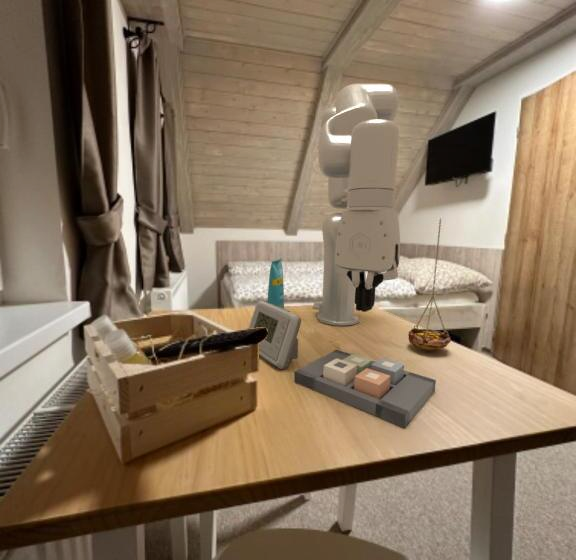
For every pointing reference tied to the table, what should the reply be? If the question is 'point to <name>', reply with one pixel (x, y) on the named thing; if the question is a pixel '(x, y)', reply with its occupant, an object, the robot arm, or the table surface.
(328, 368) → the key ivory
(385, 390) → the key terracotta
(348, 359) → the key sage
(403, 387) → the keypad frame
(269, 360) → the digital clock
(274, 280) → the tube
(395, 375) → the key slate
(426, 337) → the bird feeder
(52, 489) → the table surface
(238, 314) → the table surface
